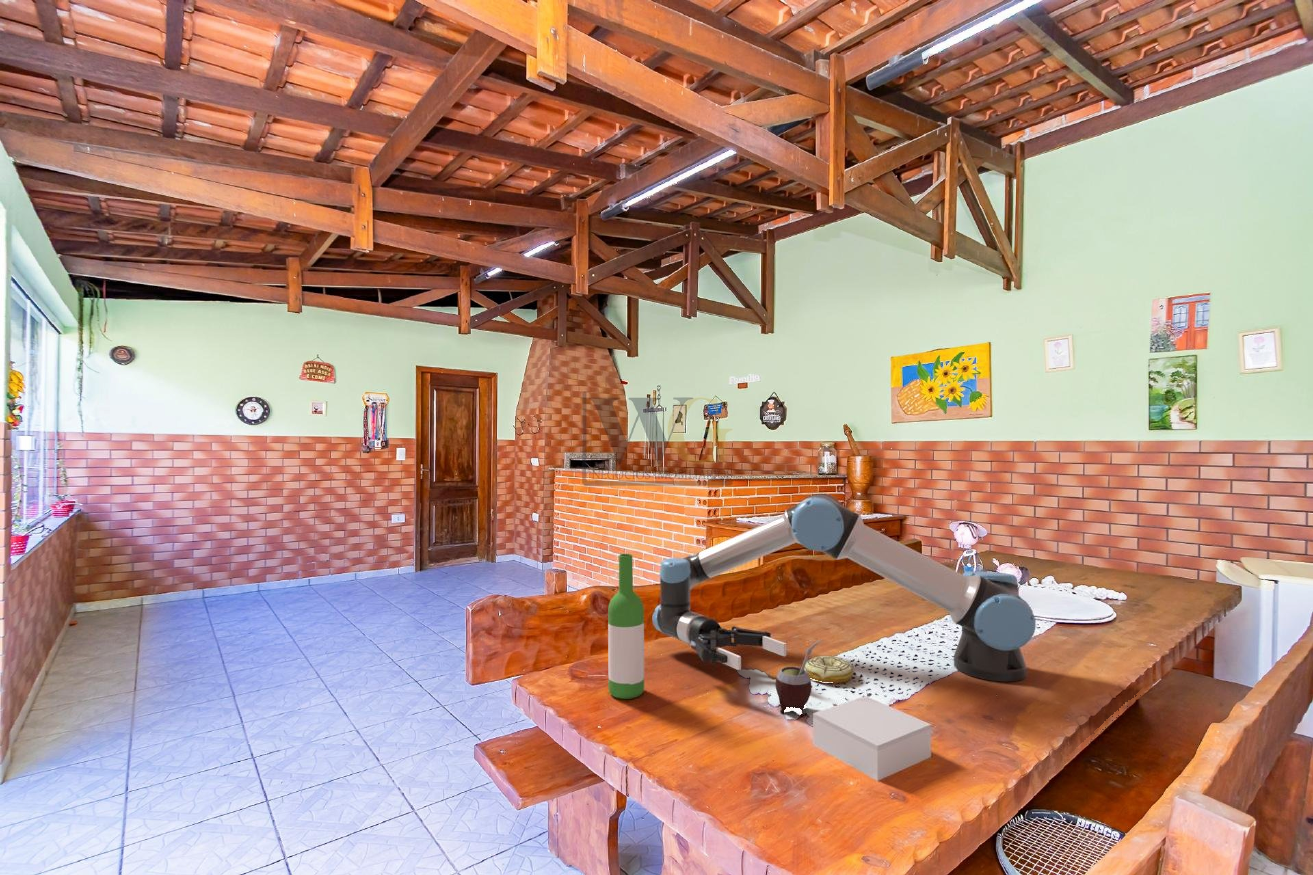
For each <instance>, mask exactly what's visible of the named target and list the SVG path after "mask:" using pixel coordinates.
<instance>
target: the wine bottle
mask: <svg viewBox="0 0 1313 875" xmlns="http://www.w3.org/2000/svg"><path fill="white" fill-rule="evenodd" d="M633 568H634V567H633V555H632V554H631V553H620V554H619V555H618V592H617V593H615V594H614V596H612V598H611V599H610V600H609V604H608V610H607V612H608V614H607V616H608V617H607V618H608V619H607V621H608V622H607V624H608V625H607V628H608V629H607V640H608V641H607V642H608V643H607V644H608V650H607V652H608V653H607V654H608V656H607V657H608V658H607V660H608V661H607V662H608V668H607V669H608V691H609V693H610V695H611V696H612V697H613V698H616V699H620V700H631V699H634V698H637V697H640V696H641V695H642V694H643V692H644V689H645V622H644V620H645V619H644V616H645V613H644V610H645V609H644V604H643V601H642V599H641V598H640V596H639V595H638V594H637V593H636V592H635V591H634V586H633V585H634V578H633V577H634V575H633V571H634V570H633Z"/></svg>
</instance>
